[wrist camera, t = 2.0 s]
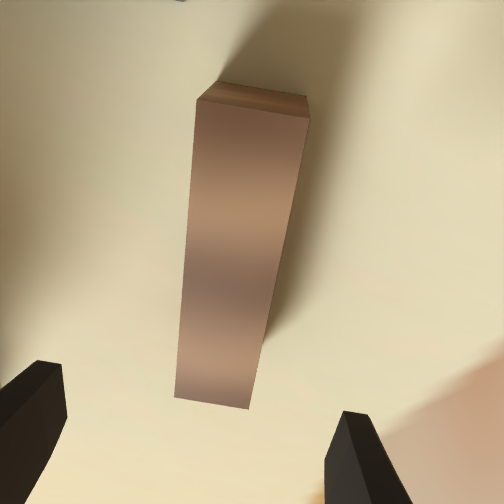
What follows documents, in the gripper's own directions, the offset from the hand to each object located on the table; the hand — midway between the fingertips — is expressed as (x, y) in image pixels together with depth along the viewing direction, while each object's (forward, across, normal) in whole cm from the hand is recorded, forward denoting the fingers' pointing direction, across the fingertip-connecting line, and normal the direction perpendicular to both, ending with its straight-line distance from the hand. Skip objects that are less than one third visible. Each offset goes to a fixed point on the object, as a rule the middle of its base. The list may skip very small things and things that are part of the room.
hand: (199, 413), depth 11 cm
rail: (+10, 0, 0) cm, 10 cm away
